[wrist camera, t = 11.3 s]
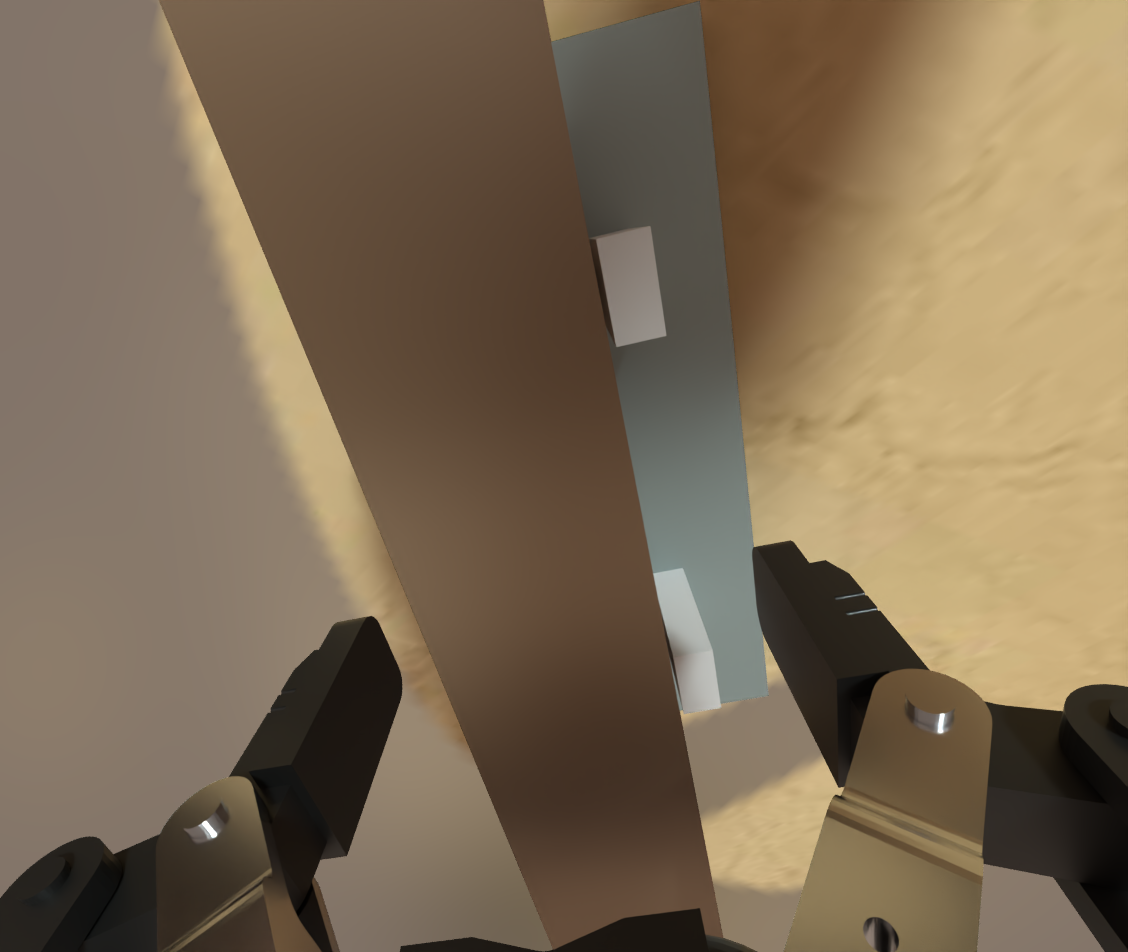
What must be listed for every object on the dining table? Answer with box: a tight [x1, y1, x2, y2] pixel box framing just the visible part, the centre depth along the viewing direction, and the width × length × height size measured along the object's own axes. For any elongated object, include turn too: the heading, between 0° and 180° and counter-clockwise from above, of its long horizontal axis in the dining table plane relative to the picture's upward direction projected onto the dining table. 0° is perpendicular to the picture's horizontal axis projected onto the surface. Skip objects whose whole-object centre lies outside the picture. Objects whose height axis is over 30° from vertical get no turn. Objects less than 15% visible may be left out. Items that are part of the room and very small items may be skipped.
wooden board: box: [159, 0, 723, 949], centre depth 13 cm, size 18×3×12 cm, turn 13°
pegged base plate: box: [551, 1, 768, 714], centre depth 18 cm, size 24×12×6 cm, turn 13°
